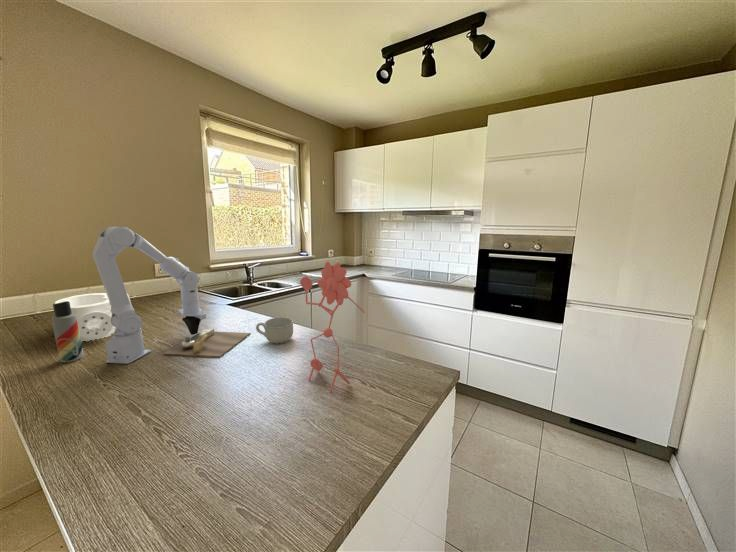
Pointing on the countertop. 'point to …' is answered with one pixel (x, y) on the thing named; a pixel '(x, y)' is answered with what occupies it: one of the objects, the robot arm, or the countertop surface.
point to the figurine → (332, 289)
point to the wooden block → (190, 340)
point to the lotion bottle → (66, 333)
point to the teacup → (277, 329)
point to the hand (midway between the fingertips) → (194, 333)
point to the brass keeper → (199, 344)
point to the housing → (92, 315)
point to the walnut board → (211, 345)
